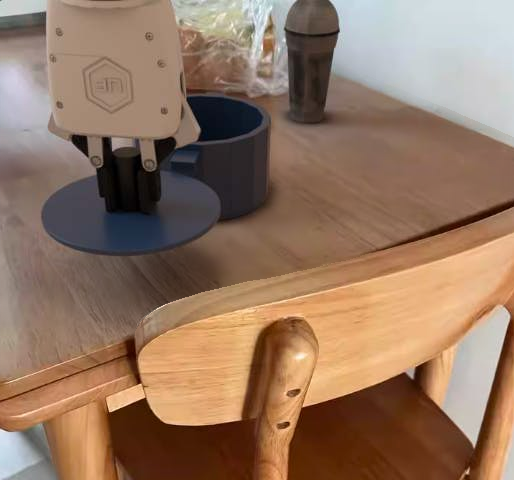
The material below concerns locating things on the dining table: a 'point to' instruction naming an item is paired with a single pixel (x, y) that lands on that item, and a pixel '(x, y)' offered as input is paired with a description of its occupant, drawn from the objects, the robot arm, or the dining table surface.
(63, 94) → the robot arm
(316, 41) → the beverage cup
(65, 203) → the lid
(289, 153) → the dining table surface
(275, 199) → the dining table surface
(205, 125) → the pot
